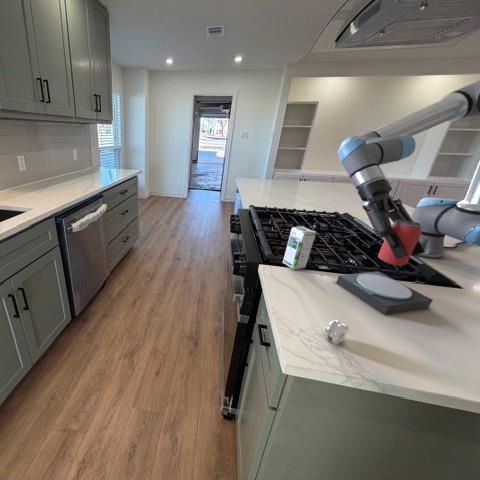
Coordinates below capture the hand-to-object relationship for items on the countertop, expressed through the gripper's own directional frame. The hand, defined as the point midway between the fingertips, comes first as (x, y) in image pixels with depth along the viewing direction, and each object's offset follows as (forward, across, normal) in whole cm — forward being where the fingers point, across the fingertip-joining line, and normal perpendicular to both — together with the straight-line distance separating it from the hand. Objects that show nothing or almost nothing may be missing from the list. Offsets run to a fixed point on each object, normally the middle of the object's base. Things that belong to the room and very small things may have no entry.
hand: (410, 255), depth 70 cm
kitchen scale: (+9, 0, -13) cm, 16 cm away
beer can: (0, 0, -5) cm, 5 cm away
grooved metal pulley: (+15, +31, -6) cm, 36 cm away
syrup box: (-7, +11, -29) cm, 32 cm away
